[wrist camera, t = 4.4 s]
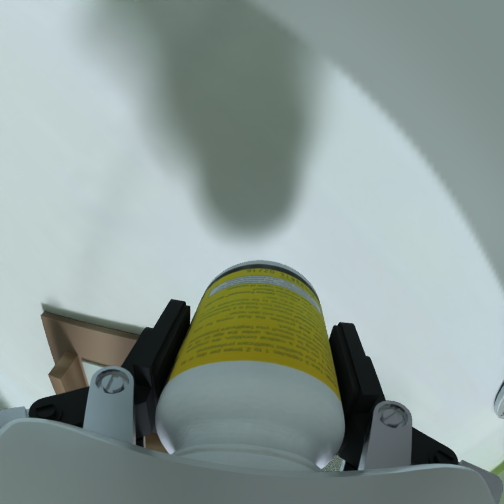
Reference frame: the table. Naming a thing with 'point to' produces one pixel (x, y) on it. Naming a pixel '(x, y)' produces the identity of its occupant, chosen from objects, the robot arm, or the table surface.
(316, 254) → the table surface
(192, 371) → the supplement bottle
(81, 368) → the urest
